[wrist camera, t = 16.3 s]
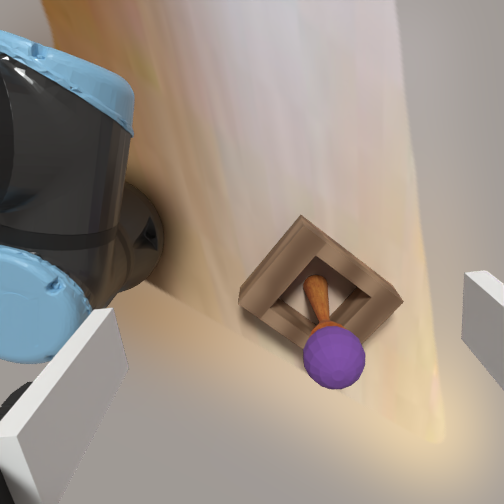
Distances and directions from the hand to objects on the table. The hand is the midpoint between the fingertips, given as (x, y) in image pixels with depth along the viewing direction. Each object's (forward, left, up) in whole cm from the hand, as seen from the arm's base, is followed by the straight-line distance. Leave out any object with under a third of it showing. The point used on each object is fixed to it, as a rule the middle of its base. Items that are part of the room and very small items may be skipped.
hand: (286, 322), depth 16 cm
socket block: (+14, -9, -39) cm, 42 cm away
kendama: (+14, -9, -39) cm, 42 cm away
